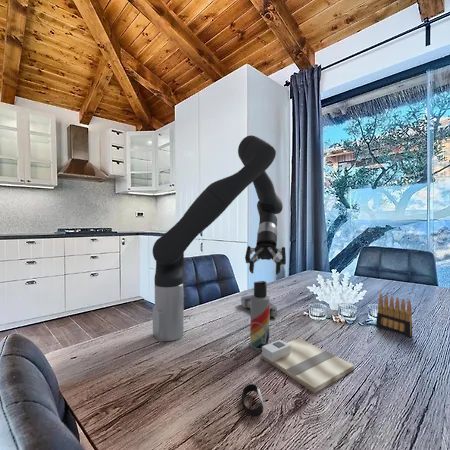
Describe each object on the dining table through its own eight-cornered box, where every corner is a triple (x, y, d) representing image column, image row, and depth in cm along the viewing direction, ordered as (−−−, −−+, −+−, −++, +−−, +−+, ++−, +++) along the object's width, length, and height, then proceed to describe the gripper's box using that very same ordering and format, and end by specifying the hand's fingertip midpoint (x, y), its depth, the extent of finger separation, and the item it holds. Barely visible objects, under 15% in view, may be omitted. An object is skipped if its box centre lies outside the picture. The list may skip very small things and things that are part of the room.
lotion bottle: (257, 352, 78) (257, 284, 77) (246, 343, 83) (247, 279, 82) (272, 347, 81) (273, 282, 80) (261, 339, 86) (262, 277, 85)
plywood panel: (314, 393, 61) (314, 387, 61) (260, 357, 75) (260, 352, 75) (354, 369, 70) (354, 364, 70) (299, 341, 84) (299, 337, 84)
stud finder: (272, 361, 71) (272, 351, 71) (262, 355, 74) (262, 345, 74) (290, 354, 75) (290, 344, 75) (279, 347, 78) (280, 338, 78)
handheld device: (266, 322, 100) (266, 310, 100) (238, 305, 118) (238, 295, 117) (286, 317, 104) (286, 305, 104) (256, 302, 122) (256, 292, 122)
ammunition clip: (412, 336, 89) (413, 300, 88) (410, 337, 87) (411, 301, 87) (378, 325, 97) (379, 292, 97) (375, 326, 96) (377, 293, 95)
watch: (267, 419, 53) (268, 401, 53) (244, 420, 53) (244, 403, 53) (259, 393, 61) (259, 377, 61) (239, 394, 61) (239, 378, 60)
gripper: (286, 242, 104) (285, 279, 93) (249, 242, 107) (245, 277, 97) (286, 230, 98) (285, 267, 88) (247, 229, 102) (242, 265, 91)
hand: (264, 272), depth 92 cm, fingers open, 8 cm apart
